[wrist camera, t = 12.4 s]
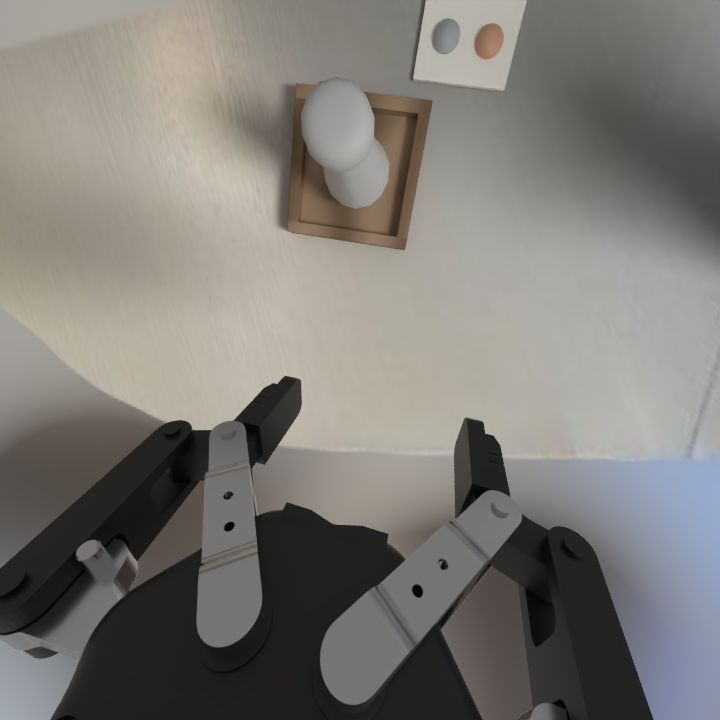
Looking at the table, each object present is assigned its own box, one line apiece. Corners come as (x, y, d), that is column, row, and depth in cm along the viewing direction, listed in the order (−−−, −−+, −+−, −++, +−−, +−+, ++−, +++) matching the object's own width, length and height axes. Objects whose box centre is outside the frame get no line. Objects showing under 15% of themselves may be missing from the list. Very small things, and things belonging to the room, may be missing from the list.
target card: (525, 0, 24) (528, -5, 23) (503, 91, 26) (505, 88, 25) (427, -11, 24) (428, -16, 24) (412, 80, 26) (413, 77, 26)
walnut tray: (430, 110, 27) (432, 100, 25) (404, 249, 31) (404, 249, 29) (302, 94, 27) (296, 83, 26) (293, 232, 31) (287, 231, 30)
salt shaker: (330, 143, 28) (280, 50, 15) (391, 143, 27) (389, 46, 15) (330, 212, 29) (286, 178, 17) (387, 213, 29) (383, 178, 17)
